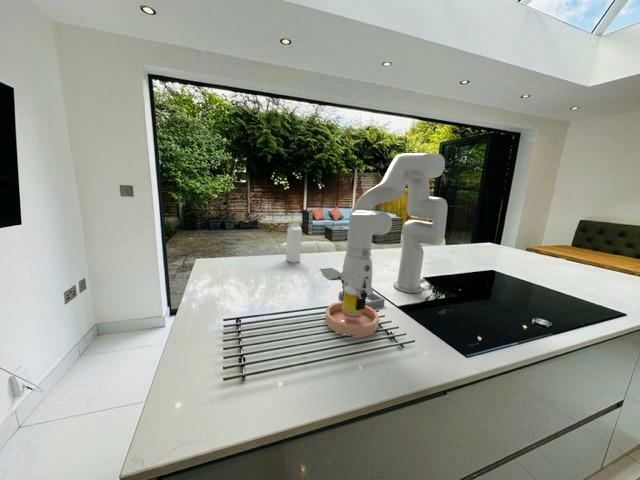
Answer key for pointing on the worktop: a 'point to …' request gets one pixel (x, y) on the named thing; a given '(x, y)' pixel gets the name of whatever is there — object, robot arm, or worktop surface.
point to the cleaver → (331, 273)
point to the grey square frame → (375, 303)
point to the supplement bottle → (351, 303)
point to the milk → (293, 243)
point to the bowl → (352, 321)
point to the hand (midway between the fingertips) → (353, 304)
